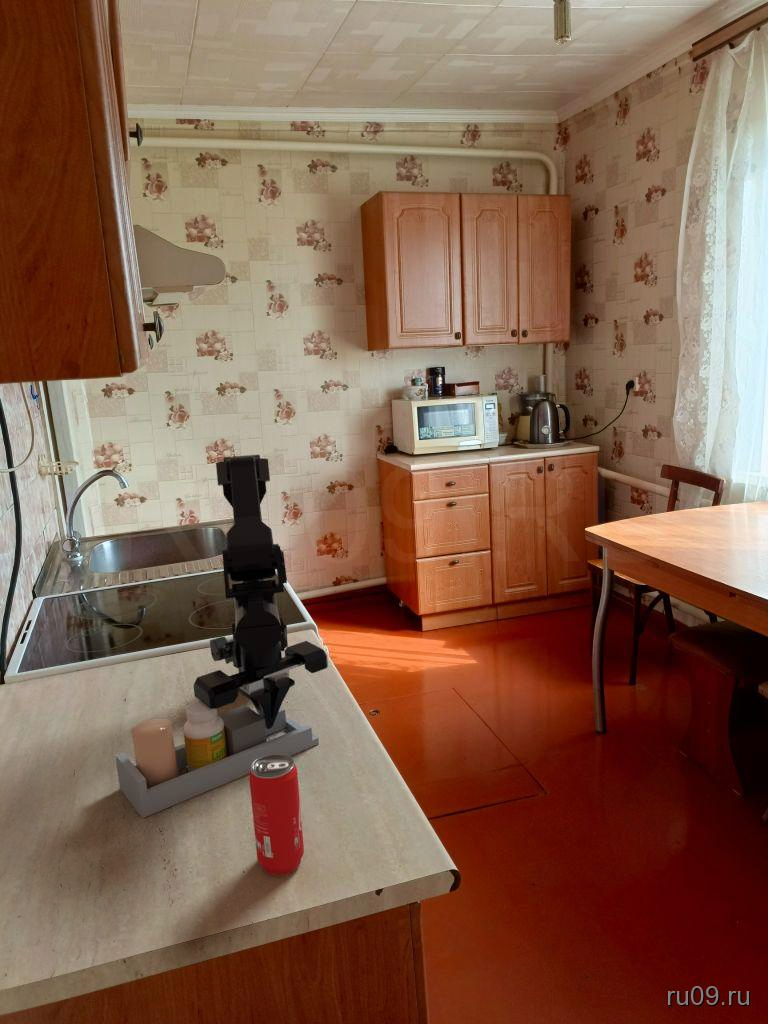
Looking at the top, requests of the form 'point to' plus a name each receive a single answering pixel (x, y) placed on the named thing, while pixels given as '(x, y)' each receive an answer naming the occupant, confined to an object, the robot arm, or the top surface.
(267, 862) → the beverage can
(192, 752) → the supplement bottle
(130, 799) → the tray
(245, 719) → the block
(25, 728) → the top surface
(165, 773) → the jar
